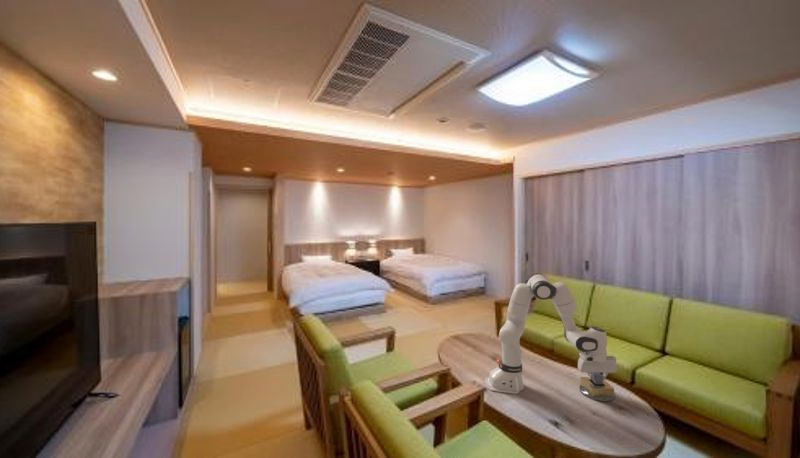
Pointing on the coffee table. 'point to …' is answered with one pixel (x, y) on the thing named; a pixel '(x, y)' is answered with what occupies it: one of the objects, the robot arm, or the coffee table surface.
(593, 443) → the coffee table surface
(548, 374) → the coffee table surface
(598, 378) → the grey rectangular block
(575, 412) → the coffee table surface
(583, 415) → the coffee table surface
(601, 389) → the rosette plate
